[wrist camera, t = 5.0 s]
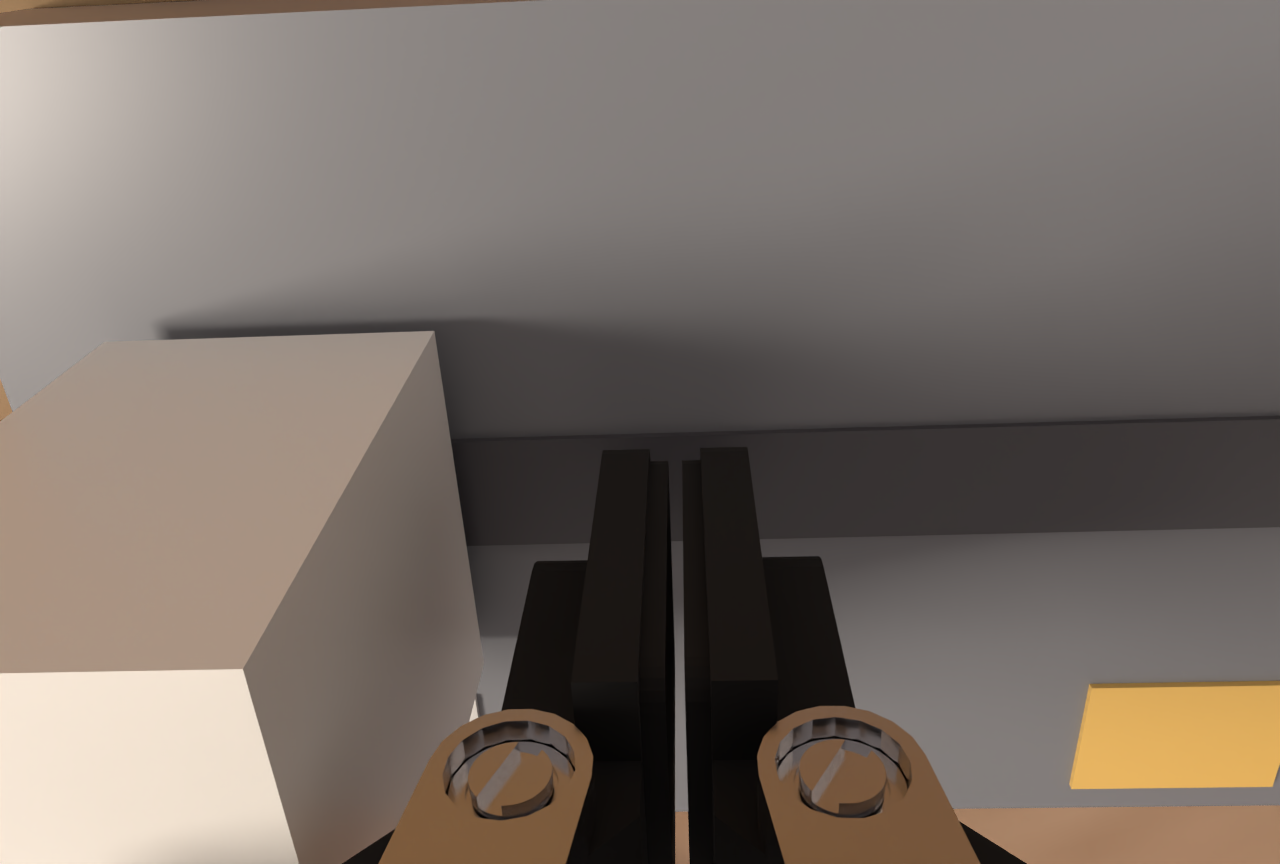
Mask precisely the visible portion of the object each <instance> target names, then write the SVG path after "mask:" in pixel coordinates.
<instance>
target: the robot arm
mask: <svg viewBox="0 0 1280 864" xmlns="http://www.w3.org/2000/svg"><path fill="white" fill-rule="evenodd" d="M682 498H683V588H684V672H685V715H686V750H687V784H688V819H689V853H690V864H1026V863H1025V862H1023V861H1022V860H1020V859H1018V858H1017V857H1015V856H1014V855H1012V854H1010V853H1009V852H1007V851H1006V850H1004V849H1002V848H1001V847H999V846H998V845H996V844H995V843H993V842H991V841H990V840H988V839H987V838H985V837H983V836H982V835H980V834H979V833H977V832H975V831H974V830H972V829H971V828H969V827H967V826H966V825H964V824H963V823H961V822H960V821H959V820H958V818H957V816H956V814H955V812H954V810H953V808H952V806H951V804H950V802H949V800H948V798H947V796H946V794H945V792H944V790H943V788H942V786H941V784H940V782H939V780H938V778H937V776H936V774H935V772H934V770H933V768H932V766H931V764H930V762H929V761H928V759H927V757H926V755H925V753H924V752H923V750H922V749H921V748H920V746H919V745H918V744H917V742H916V741H915V740H914V738H913V737H912V736H911V735H910V734H908V733H907V732H906V731H905V730H903V729H902V728H901V727H899V726H898V725H897V724H895V723H894V722H893V721H891V720H888V719H886V718H884V717H882V716H879V715H877V714H875V713H873V712H870V711H867V710H862V709H857V708H855V704H854V699H853V695H852V690H851V686H850V682H849V677H848V673H847V668H846V664H845V659H844V655H843V650H842V646H841V641H840V637H839V633H838V628H837V624H836V619H835V615H834V610H833V606H832V601H831V597H830V593H829V588H828V584H827V579H826V575H825V570H824V566H823V563H822V559H821V558H820V557H819V556H797V557H762V553H761V545H760V538H759V530H758V523H757V515H756V508H755V500H754V493H753V485H752V478H751V470H750V463H749V455H748V449H747V447H712V448H700V460H682ZM342 864H675V639H674V610H673V580H672V551H671V522H670V492H669V465H668V461H651V458H650V449H626V450H603V452H602V457H601V465H600V472H599V479H598V487H597V494H596V501H595V509H594V516H593V523H592V531H591V538H590V545H589V553H588V560H571V561H537V562H535V563H534V566H533V569H532V573H531V577H530V582H529V586H528V591H527V595H526V600H525V605H524V609H523V614H522V618H521V623H520V628H519V632H518V637H517V641H516V646H515V650H514V655H513V660H512V664H511V669H510V673H509V678H508V682H507V687H506V692H505V696H504V701H503V705H502V710H501V711H499V712H495V713H490V714H486V715H483V716H481V717H479V718H476V719H474V720H472V721H470V722H468V723H466V724H464V725H462V726H460V727H459V728H458V729H457V730H455V731H454V732H453V733H452V734H450V735H449V736H448V737H447V738H445V739H444V740H443V741H442V742H441V744H440V745H439V746H438V748H437V749H436V751H435V752H434V754H433V755H432V756H431V758H430V759H429V761H428V763H427V765H426V768H425V770H424V772H423V774H422V776H421V778H420V780H419V782H418V784H417V786H416V788H415V790H414V792H413V794H412V796H411V798H410V800H409V802H408V804H407V806H406V808H405V810H404V812H403V814H402V816H401V819H400V821H399V823H398V825H397V827H396V828H395V829H394V830H392V831H391V832H389V833H388V834H386V835H385V836H383V837H382V838H380V839H379V840H377V841H376V842H374V843H373V844H371V845H369V846H368V847H366V848H365V849H363V850H362V851H360V852H359V853H357V854H356V855H354V856H353V857H351V858H350V859H348V860H347V861H345V862H344V863H342Z"/></svg>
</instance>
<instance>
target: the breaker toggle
mask: <svg viewBox="0 0 1280 864" xmlns="http://www.w3.org/2000/svg"><path fill="white" fill-rule="evenodd" d="M483 665H484V660H483V653H482V646H481V640H480V633H479V626H478V620H477V613H476V606H475V600H474V593H473V586H472V579H471V573H470V566H469V559H468V553H467V546H466V539H465V533H464V526H463V519H462V512H461V506H460V499H459V492H458V486H457V479H456V472H455V466H454V459H453V452H452V445H451V439H450V432H449V425H448V419H447V412H446V405H445V399H444V392H443V385H442V378H441V372H440V365H439V358H438V352H437V345H436V338H435V332H434V331H415V332H385V333H355V334H325V335H295V336H265V337H235V338H205V339H175V340H145V341H115V342H104V343H103V344H101V345H100V346H99V347H97V348H96V349H95V350H93V351H92V352H91V353H89V354H88V355H87V356H85V357H84V358H83V359H82V360H80V361H79V362H78V363H76V364H75V365H74V366H72V367H71V368H70V369H68V370H67V371H66V372H64V373H63V374H62V375H61V376H59V377H58V378H57V379H55V380H54V381H53V382H51V383H50V384H49V385H47V386H46V387H45V388H43V389H42V390H41V391H40V392H38V393H37V394H36V395H34V396H33V397H32V398H30V399H29V400H28V401H26V402H25V403H24V404H22V405H21V406H20V407H19V408H17V409H16V410H15V411H13V412H12V413H11V414H9V415H8V416H7V417H5V418H4V419H3V420H1V421H0V864H342V863H344V862H345V861H347V860H348V859H350V858H351V857H353V856H354V855H356V854H357V853H359V852H360V851H362V850H363V849H365V848H366V847H368V846H369V845H371V844H373V843H374V842H376V841H377V840H379V839H380V838H382V837H383V836H385V835H386V834H388V833H389V832H391V831H392V830H394V829H395V828H396V827H397V825H398V823H399V821H400V819H401V816H402V814H403V812H404V810H405V808H406V806H407V804H408V802H409V800H410V798H411V796H412V794H413V792H414V790H415V788H416V786H417V784H418V782H419V780H420V778H421V776H422V774H423V772H424V770H425V768H426V765H427V763H428V761H429V759H430V758H431V756H432V755H433V754H434V752H435V751H436V749H437V748H438V746H439V745H440V744H441V742H442V741H443V740H444V739H445V738H447V737H448V736H449V735H450V734H452V733H453V732H454V731H455V730H457V729H458V728H459V727H460V726H462V725H464V724H466V723H468V722H469V721H470V717H471V713H472V709H473V705H474V701H475V697H476V693H477V689H478V685H479V681H480V677H481V673H482V669H483Z"/></svg>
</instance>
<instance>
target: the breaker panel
mask: <svg viewBox="0 0 1280 864" xmlns="http://www.w3.org/2000/svg"><path fill="white" fill-rule="evenodd" d="M415 331H434V332H435V338H436V345H437V352H438V358H439V365H440V372H441V378H442V385H443V392H444V399H445V405H446V412H447V419H448V425H449V432H450V439H451V445H452V452H453V459H454V466H455V472H456V479H457V486H458V492H459V499H460V506H461V512H462V519H463V526H464V533H465V539H466V546H467V553H468V559H469V566H470V573H471V579H472V586H473V593H474V600H475V606H476V613H477V620H478V626H479V633H480V640H481V646H482V653H483V660H484V665H483V669H482V673H481V677H480V681H479V685H478V689H477V693H476V697H475V701H474V705H473V709H472V713H471V717H470V721H472V720H474V719H476V718H479V717H481V716H483V715H486V714H490V713H495V712H499V711H501V710H502V705H503V701H504V696H505V692H506V687H507V682H508V678H509V673H510V669H511V664H512V660H513V655H514V650H515V646H516V641H517V637H518V632H519V628H520V623H521V618H522V614H523V609H524V605H525V600H526V595H527V591H528V586H529V582H530V577H531V573H532V569H533V566H534V563H535V562H537V561H571V560H588V553H589V545H590V538H591V531H592V523H593V516H594V509H595V501H596V494H597V487H598V479H599V472H600V465H601V457H602V452H603V450H626V449H650V458H651V461H668V465H669V492H670V522H671V551H672V580H673V610H674V639H675V812H679V811H688V784H687V750H686V715H685V672H684V588H683V498H682V460H700V448H712V447H747V449H748V455H749V463H750V470H751V478H752V485H753V493H754V500H755V508H756V515H757V523H758V530H759V538H760V545H761V553H762V557H797V556H819V557H820V558H821V559H822V563H823V566H824V570H825V575H826V579H827V584H828V588H829V593H830V597H831V601H832V606H833V610H834V615H835V619H836V624H837V628H838V633H839V637H840V641H841V646H842V650H843V655H844V659H845V664H846V668H847V673H848V677H849V682H850V686H851V690H852V695H853V699H854V704H855V708H857V709H862V710H867V711H870V712H873V713H875V714H877V715H879V716H882V717H884V718H886V719H888V720H891V721H893V722H894V723H895V724H897V725H898V726H899V727H901V728H902V729H903V730H905V731H906V732H907V733H908V734H910V735H911V736H912V737H913V738H914V740H915V741H916V742H917V744H918V745H919V746H920V748H921V749H922V750H923V752H924V753H925V755H926V757H927V759H928V761H929V762H930V764H931V766H932V768H933V770H934V772H935V774H936V776H937V778H938V780H939V782H940V784H941V786H942V788H943V790H944V792H945V794H946V796H947V798H948V800H949V802H950V804H951V806H952V808H953V809H965V808H1060V807H1155V806H1250V805H1280V0H196V1H176V2H156V3H136V4H116V5H95V6H75V7H55V8H35V9H24V10H18V11H11V12H5V13H0V379H1V382H2V384H3V387H4V390H5V393H6V395H7V398H8V401H9V403H10V406H11V409H12V412H13V411H15V410H16V409H17V408H19V407H20V406H21V405H22V404H24V403H25V402H26V401H28V400H29V399H30V398H32V397H33V396H34V395H36V394H37V393H38V392H40V391H41V390H42V389H43V388H45V387H46V386H47V385H49V384H50V383H51V382H53V381H54V380H55V379H57V378H58V377H59V376H61V375H62V374H63V373H64V372H66V371H67V370H68V369H70V368H71V367H72V366H74V365H75V364H76V363H78V362H79V361H80V360H82V359H83V358H84V357H85V356H87V355H88V354H89V353H91V352H92V351H93V350H95V349H96V348H97V347H99V346H100V345H101V344H103V343H104V342H115V341H145V340H175V339H205V338H235V337H265V336H295V335H325V334H355V333H385V332H415ZM470 721H469V722H470Z"/></svg>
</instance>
